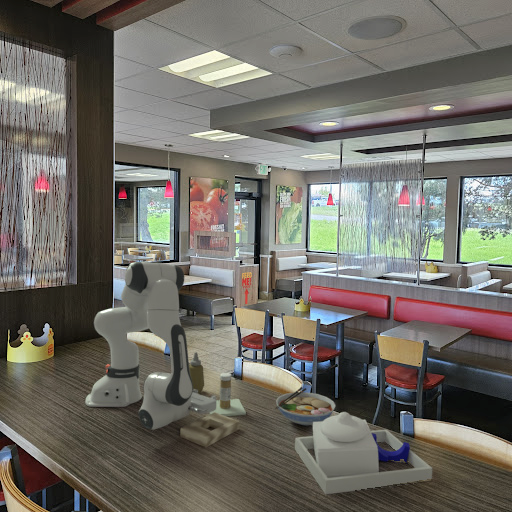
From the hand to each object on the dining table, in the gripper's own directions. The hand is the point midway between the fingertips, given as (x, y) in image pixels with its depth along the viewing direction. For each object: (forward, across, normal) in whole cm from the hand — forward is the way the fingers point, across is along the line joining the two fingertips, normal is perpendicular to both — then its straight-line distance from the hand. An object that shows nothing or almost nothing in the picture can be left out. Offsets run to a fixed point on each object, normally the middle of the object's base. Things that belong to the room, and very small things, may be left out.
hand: (205, 394), depth 172 cm
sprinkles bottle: (+12, 0, +9) cm, 15 cm away
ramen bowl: (+23, -31, +10) cm, 40 cm away
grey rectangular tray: (+6, -60, +10) cm, 61 cm away
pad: (+12, 0, +10) cm, 15 cm away
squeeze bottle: (+17, +22, +10) cm, 29 cm away
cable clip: (+14, -66, +9) cm, 68 cm away
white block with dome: (+3, -56, +9) cm, 57 cm away
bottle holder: (-8, -10, +10) cm, 15 cm away
